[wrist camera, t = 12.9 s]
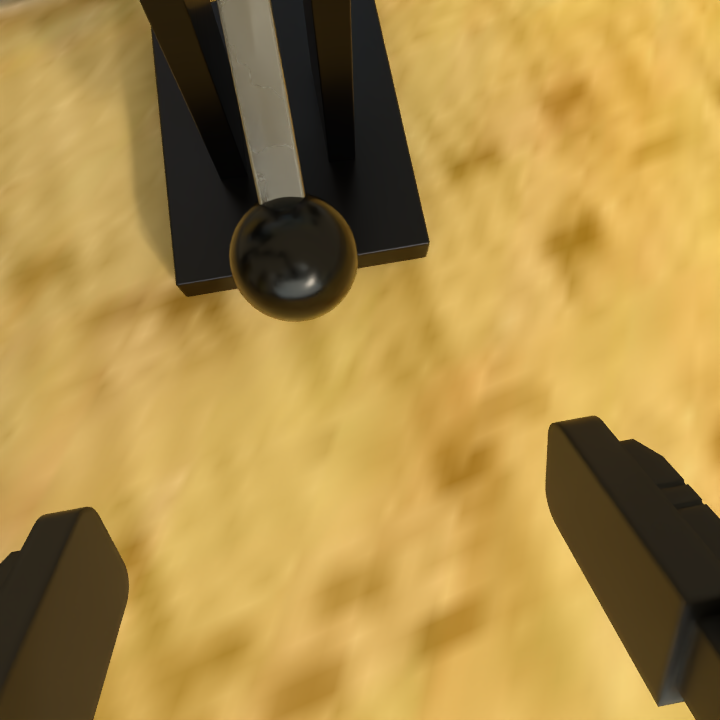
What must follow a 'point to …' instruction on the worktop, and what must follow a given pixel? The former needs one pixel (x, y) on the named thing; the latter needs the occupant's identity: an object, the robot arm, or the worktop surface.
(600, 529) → the robot arm
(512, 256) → the worktop surface
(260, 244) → the lever
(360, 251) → the bracket
